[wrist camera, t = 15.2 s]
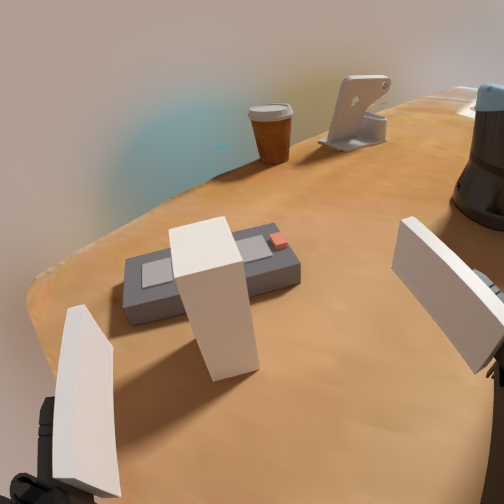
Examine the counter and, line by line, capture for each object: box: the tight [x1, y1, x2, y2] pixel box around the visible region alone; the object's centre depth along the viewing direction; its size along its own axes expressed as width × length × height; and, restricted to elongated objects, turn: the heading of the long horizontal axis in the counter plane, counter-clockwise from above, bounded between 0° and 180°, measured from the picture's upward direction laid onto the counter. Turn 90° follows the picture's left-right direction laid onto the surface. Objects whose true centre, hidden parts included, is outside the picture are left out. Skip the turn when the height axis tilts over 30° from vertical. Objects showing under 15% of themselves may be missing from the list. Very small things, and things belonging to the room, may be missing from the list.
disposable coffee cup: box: [248, 103, 293, 164], centre depth 65 cm, size 10×10×12 cm
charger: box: [169, 216, 260, 382], centre depth 26 cm, size 4×6×13 cm
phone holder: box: [319, 75, 391, 152], centre depth 70 cm, size 17×10×18 cm, turn 119°
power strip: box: [123, 223, 301, 326], centre depth 38 cm, size 20×9×4 cm, turn 105°
